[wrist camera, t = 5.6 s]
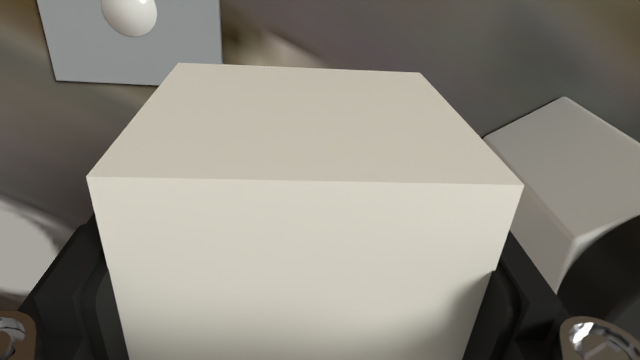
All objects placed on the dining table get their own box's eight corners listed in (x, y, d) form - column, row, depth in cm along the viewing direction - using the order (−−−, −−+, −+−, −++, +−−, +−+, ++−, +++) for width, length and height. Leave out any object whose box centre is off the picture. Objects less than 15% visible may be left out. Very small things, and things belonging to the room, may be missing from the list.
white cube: (419, 73, 11) (524, 184, 6) (387, 256, 14) (440, 429, 9) (178, 62, 11) (86, 176, 6) (197, 256, 14) (148, 438, 9)
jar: (491, 249, 28) (605, 438, 18) (443, 153, 24) (550, 319, 14) (633, 185, 26) (856, 356, 16) (604, 70, 22) (868, 193, 12)
